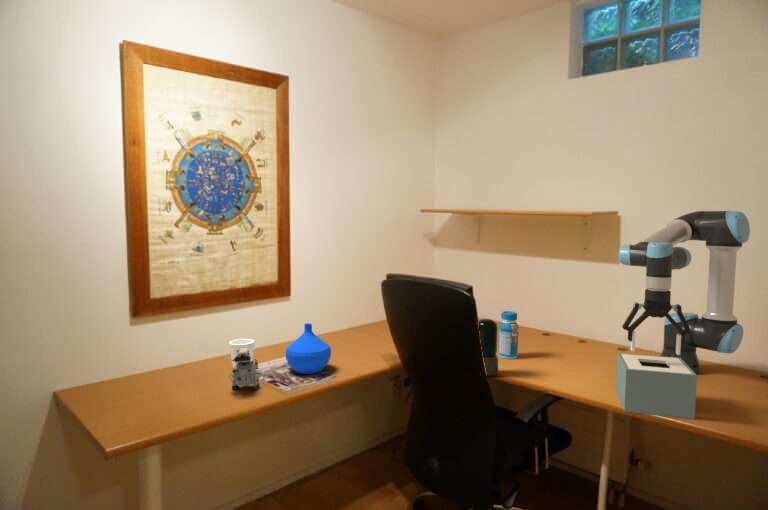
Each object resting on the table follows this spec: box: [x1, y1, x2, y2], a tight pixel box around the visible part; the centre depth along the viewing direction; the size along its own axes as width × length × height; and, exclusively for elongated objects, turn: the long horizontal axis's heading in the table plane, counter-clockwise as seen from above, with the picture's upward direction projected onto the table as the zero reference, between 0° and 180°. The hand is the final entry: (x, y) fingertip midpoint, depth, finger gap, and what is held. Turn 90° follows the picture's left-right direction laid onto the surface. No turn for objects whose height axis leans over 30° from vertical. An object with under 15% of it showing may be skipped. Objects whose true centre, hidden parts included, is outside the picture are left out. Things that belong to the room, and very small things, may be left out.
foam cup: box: [228, 338, 255, 368], centre depth 202 cm, size 10×9×13 cm
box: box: [615, 352, 698, 420], centre depth 171 cm, size 20×20×14 cm
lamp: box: [477, 318, 499, 377], centre depth 203 cm, size 10×10×22 cm
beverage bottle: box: [498, 310, 520, 360], centre depth 226 cm, size 8×8×20 cm
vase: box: [284, 322, 332, 375], centre depth 206 cm, size 18×18×19 cm
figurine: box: [229, 348, 261, 391], centre depth 183 cm, size 9×12×15 cm
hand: (654, 352), depth 170 cm, fingers open, 13 cm apart
